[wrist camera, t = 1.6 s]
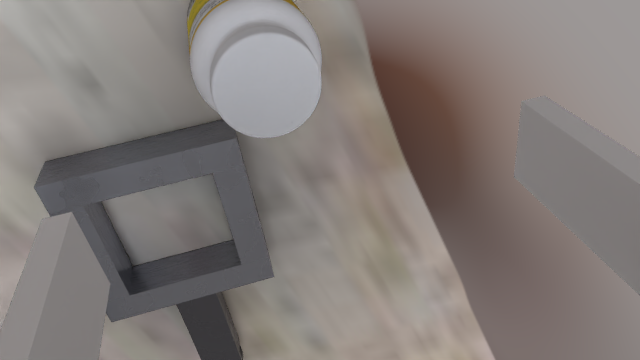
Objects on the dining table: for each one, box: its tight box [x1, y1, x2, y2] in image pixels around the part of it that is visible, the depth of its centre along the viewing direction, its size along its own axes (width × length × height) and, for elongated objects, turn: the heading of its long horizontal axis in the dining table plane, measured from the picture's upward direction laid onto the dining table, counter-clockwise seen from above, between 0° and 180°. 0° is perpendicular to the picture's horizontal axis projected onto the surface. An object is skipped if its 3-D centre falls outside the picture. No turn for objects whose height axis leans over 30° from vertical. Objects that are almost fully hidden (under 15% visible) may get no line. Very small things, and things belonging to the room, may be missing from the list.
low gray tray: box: [34, 120, 274, 360], centre depth 37 cm, size 22×12×3 cm, turn 8°
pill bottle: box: [187, 0, 322, 138], centre depth 25 cm, size 6×6×11 cm
